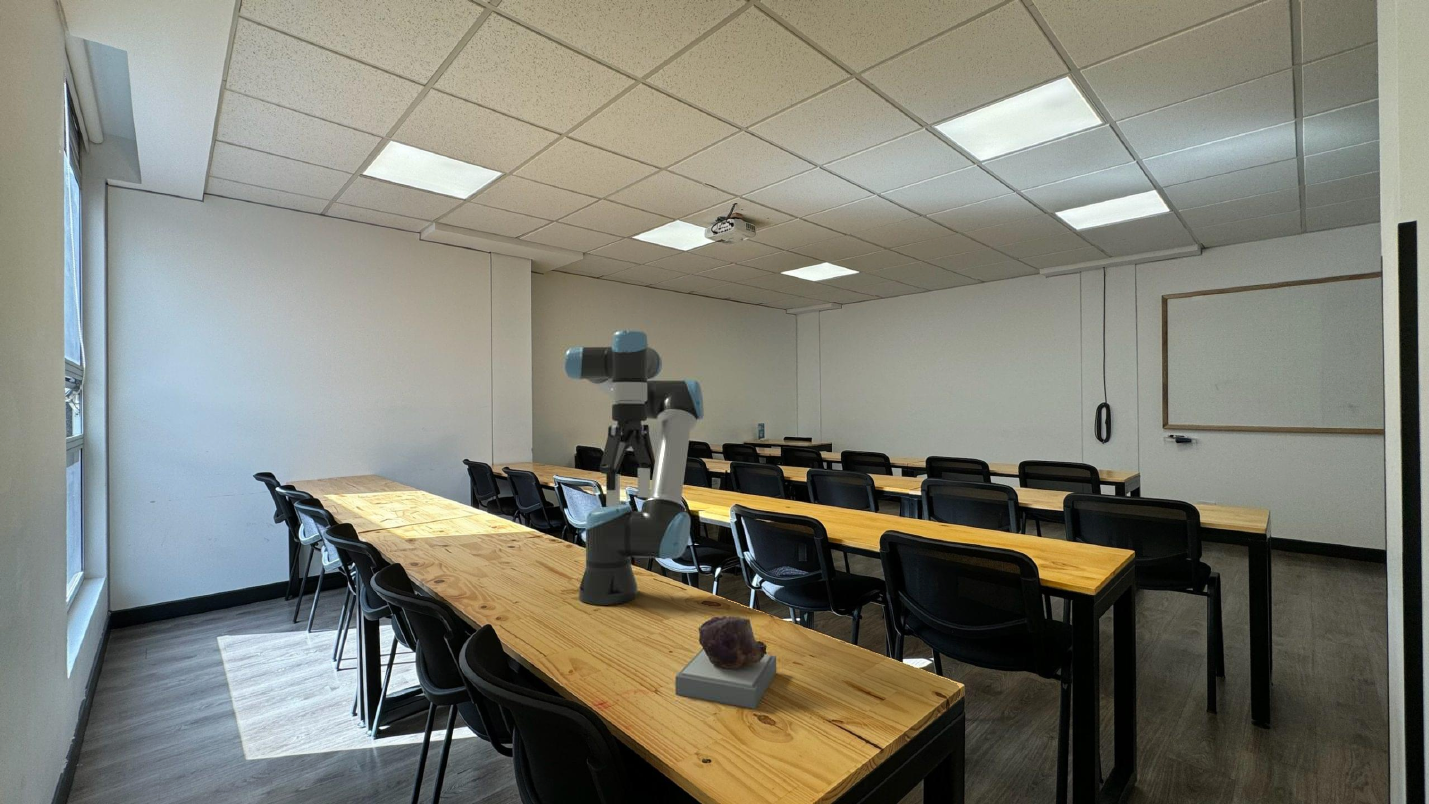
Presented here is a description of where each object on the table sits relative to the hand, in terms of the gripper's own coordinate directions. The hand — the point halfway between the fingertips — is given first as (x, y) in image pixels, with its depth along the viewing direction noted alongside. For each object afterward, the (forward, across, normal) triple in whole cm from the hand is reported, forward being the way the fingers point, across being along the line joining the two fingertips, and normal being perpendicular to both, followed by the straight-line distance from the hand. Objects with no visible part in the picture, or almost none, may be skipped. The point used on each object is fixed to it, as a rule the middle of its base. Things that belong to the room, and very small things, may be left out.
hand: (629, 501), depth 124 cm
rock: (+26, +13, +27) cm, 40 cm away
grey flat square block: (+29, +13, +27) cm, 41 cm away
